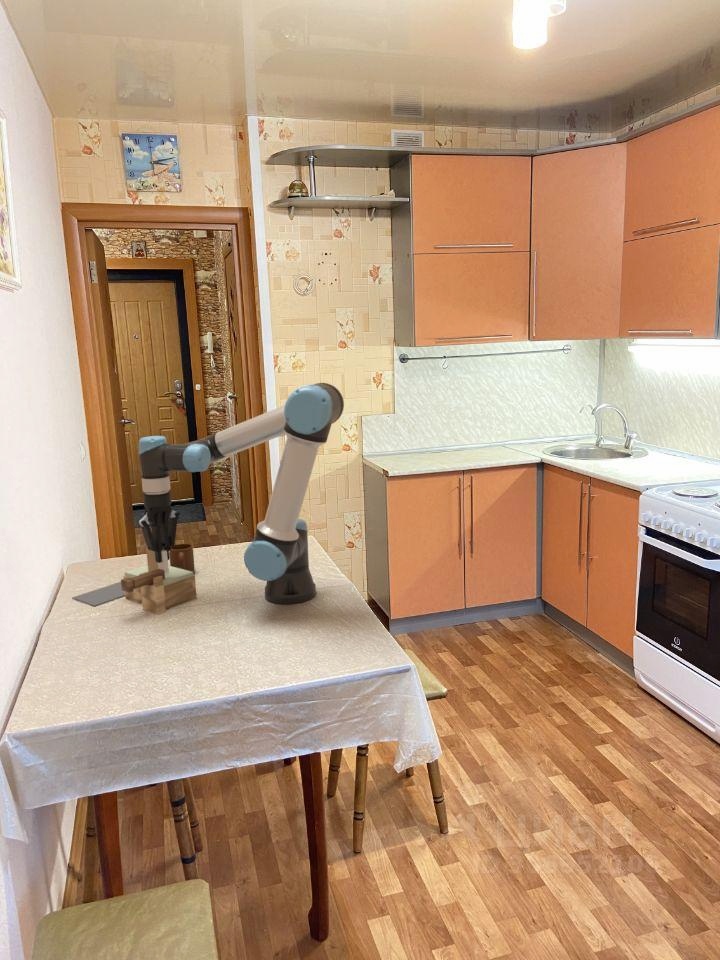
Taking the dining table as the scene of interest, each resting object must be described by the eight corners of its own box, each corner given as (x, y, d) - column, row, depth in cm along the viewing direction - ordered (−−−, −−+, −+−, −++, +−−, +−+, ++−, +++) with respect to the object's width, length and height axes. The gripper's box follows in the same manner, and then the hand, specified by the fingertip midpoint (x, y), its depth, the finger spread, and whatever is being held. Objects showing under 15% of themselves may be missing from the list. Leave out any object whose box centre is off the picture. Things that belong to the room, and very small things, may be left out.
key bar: (166, 579, 203) (165, 569, 202) (129, 592, 193) (128, 581, 193) (158, 577, 205) (157, 567, 204) (121, 590, 195) (120, 579, 195)
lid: (193, 579, 210) (190, 545, 208) (162, 590, 201) (159, 555, 199) (156, 569, 220) (153, 537, 218) (125, 579, 212) (121, 546, 210)
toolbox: (199, 598, 210) (196, 564, 208) (158, 614, 199) (155, 578, 197) (159, 587, 222) (156, 554, 220) (118, 601, 211) (114, 567, 209)
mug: (195, 580, 227) (193, 552, 225) (171, 583, 225) (168, 554, 223) (194, 569, 238) (192, 542, 236) (171, 572, 236) (168, 544, 235)
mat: (152, 586, 222) (152, 585, 222) (94, 606, 207) (94, 605, 207) (129, 580, 230) (129, 578, 230) (72, 598, 214) (71, 597, 214)
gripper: (167, 486, 207) (174, 564, 211) (128, 494, 197) (136, 576, 201) (184, 488, 202) (190, 568, 207) (144, 497, 192) (152, 581, 197)
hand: (163, 572), depth 204 cm, fingers closed
